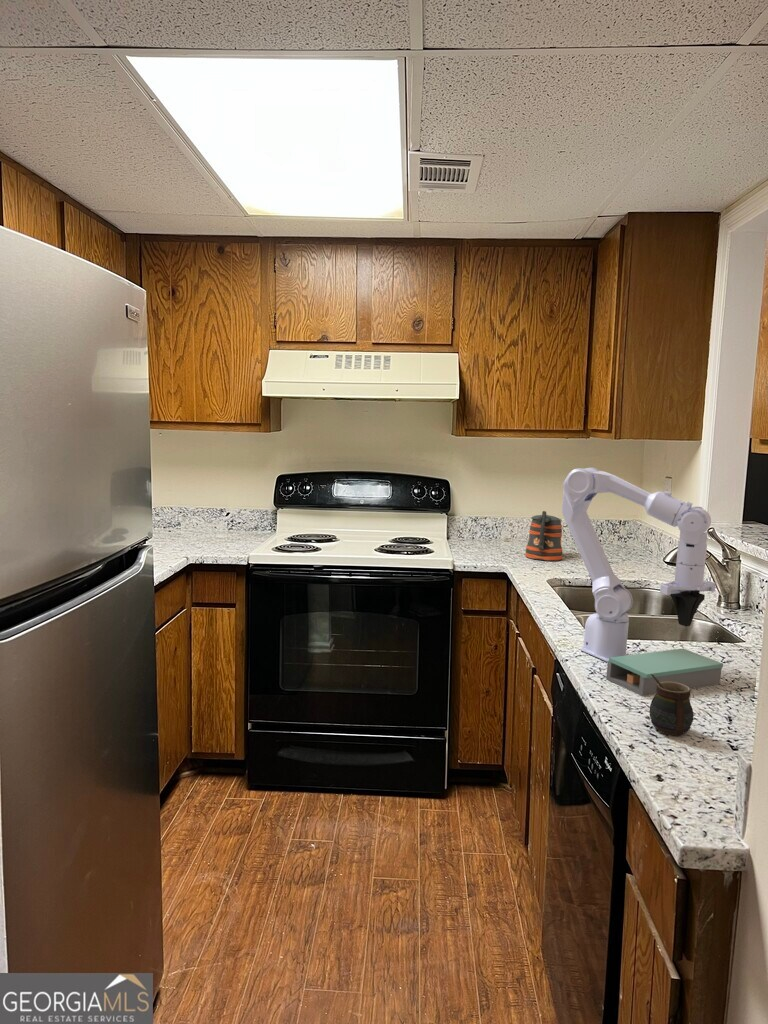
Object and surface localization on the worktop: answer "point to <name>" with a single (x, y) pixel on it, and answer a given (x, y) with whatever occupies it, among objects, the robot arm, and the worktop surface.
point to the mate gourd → (671, 708)
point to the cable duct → (660, 679)
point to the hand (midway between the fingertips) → (684, 625)
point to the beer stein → (545, 538)
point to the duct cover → (665, 663)
